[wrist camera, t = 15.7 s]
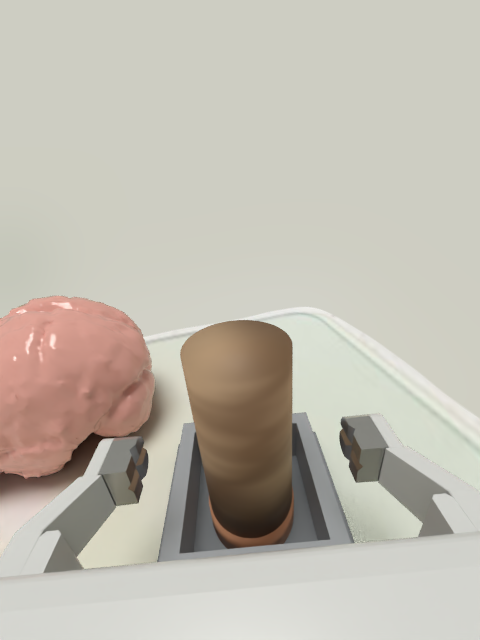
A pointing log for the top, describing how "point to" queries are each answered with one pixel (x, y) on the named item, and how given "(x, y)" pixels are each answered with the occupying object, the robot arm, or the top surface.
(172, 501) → the socket block
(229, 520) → the brown rounded peg
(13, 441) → the brain
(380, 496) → the top surface
